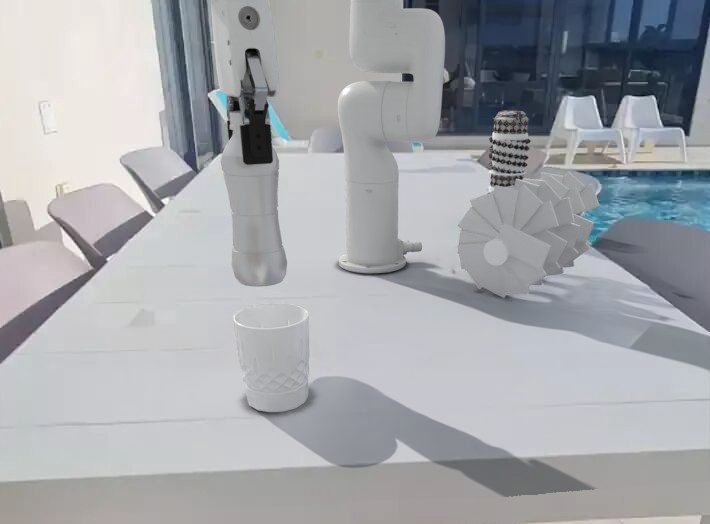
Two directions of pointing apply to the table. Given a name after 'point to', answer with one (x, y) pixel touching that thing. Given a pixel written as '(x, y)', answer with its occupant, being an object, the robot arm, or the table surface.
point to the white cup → (274, 355)
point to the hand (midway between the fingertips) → (250, 158)
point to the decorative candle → (508, 148)
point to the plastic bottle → (253, 214)
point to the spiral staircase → (525, 232)
